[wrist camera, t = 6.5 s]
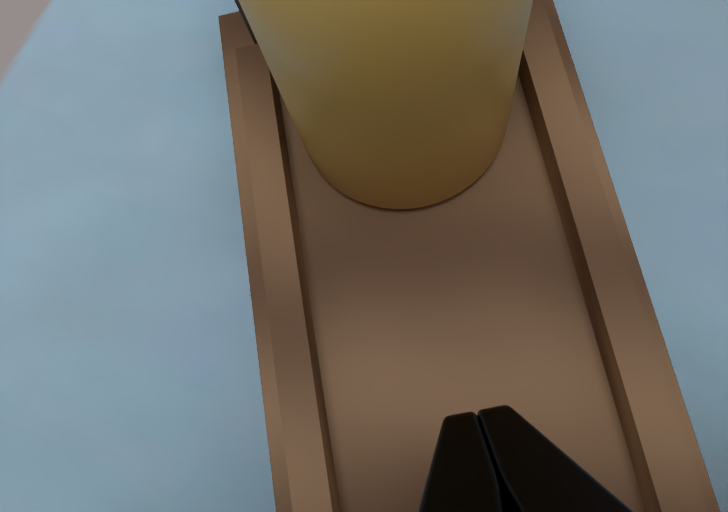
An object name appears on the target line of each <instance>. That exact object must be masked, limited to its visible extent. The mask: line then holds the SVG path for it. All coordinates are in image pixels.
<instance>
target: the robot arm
mask: <svg viewBox="0 0 728 512" xmlns="http://www.w3.org/2000/svg"><path fill="white" fill-rule="evenodd" d="M418 512H633V511H632V510H631V509H630V508H629V507H627V506H626V505H625V504H624V503H623V502H622V501H620V500H619V499H618V498H617V497H616V496H615V495H613V494H612V493H611V492H610V491H609V490H608V489H606V488H605V487H604V486H603V485H602V484H601V483H599V482H598V481H597V480H596V479H595V478H594V477H592V476H591V475H590V474H589V473H588V472H586V471H585V470H584V469H583V468H582V467H581V466H579V465H578V464H577V463H576V462H575V461H574V460H572V459H571V458H570V457H569V456H568V455H567V454H565V453H564V452H563V451H562V450H561V449H560V448H558V447H557V446H556V445H555V444H554V443H553V442H551V441H550V440H549V439H548V438H547V437H546V436H544V435H543V434H542V433H541V432H540V431H538V430H537V429H536V428H535V427H534V426H533V425H531V424H530V423H529V422H528V421H527V420H526V419H524V418H523V417H522V416H521V415H520V414H519V413H517V412H516V411H515V410H514V409H513V408H512V407H510V406H508V405H500V406H495V407H490V408H485V409H481V410H479V411H478V413H477V415H476V414H475V413H474V412H472V411H469V412H464V413H459V414H454V415H449V416H446V417H445V418H444V420H443V422H442V425H441V429H440V433H439V436H438V440H437V444H436V447H435V451H434V455H433V458H432V462H431V466H430V469H429V473H428V477H427V480H426V484H425V488H424V491H423V495H422V499H421V502H420V506H419V510H418Z"/></svg>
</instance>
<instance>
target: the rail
mask: <svg viewBox="0 0 728 512" xmlns="http://www.w3.org/2000/svg"><path fill="white" fill-rule="evenodd" d="M235 2H236V4H237V6H238V9H239V12H235V13H230V14H226V15H222V16H219V25H220V33H221V42H222V50H223V59H224V68H225V76H226V85H227V93H228V102H229V110H230V119H231V128H232V136H233V145H234V153H235V162H236V170H237V179H238V188H239V196H240V205H241V213H242V222H243V231H244V239H245V248H246V256H247V265H248V273H249V282H250V291H251V299H252V308H253V316H254V325H255V333H256V342H257V351H258V359H259V368H260V376H261V385H262V393H263V402H264V411H265V419H266V428H267V436H268V445H269V453H270V462H271V471H272V479H273V488H274V496H275V505H276V512H418V510H419V506H420V502H421V499H422V495H423V491H424V488H425V484H426V480H427V477H428V473H429V469H430V466H431V462H432V458H433V455H434V451H435V447H436V444H437V440H438V436H439V433H440V429H441V425H442V422H443V420H444V418H445V417H446V416H449V415H454V414H459V413H464V412H469V411H472V412H474V413H475V414H476V415H477V413H478V411H479V410H481V409H485V408H490V407H495V406H500V405H508V406H510V407H512V408H513V409H514V410H515V411H516V412H517V413H519V414H520V415H521V416H522V417H523V418H524V419H526V420H527V421H528V422H529V423H530V424H531V425H533V426H534V427H535V428H536V429H537V430H538V431H540V432H541V433H542V434H543V435H544V436H546V437H547V438H548V439H549V440H550V441H551V442H553V443H554V444H555V445H556V446H557V447H558V448H560V449H561V450H562V451H563V452H564V453H565V454H567V455H568V456H569V457H570V458H571V459H572V460H574V461H575V462H576V463H577V464H578V465H579V466H581V467H582V468H583V469H584V470H585V471H586V472H588V473H589V474H590V475H591V476H592V477H594V478H595V479H596V480H597V481H598V482H599V483H601V484H602V485H603V486H604V487H605V488H606V489H608V490H609V491H610V492H611V493H612V494H613V495H615V496H616V497H617V498H618V499H619V500H620V501H622V502H623V503H624V504H625V505H626V506H627V507H629V508H630V509H631V510H632V511H633V512H720V510H719V507H718V504H717V501H716V498H715V495H714V492H713V489H712V486H711V483H710V479H709V476H708V473H707V470H706V467H705V464H704V461H703V458H702V455H701V452H700V449H699V446H698V443H697V440H696V437H695V434H694V431H693V427H692V424H691V421H690V418H689V415H688V412H687V409H686V406H685V403H684V400H683V397H682V394H681V391H680V388H679V385H678V382H677V379H676V375H675V372H674V369H673V366H672V363H671V360H670V357H669V354H668V351H667V348H666V345H665V342H664V339H663V336H662V333H661V330H660V327H659V324H658V320H657V317H656V314H655V311H654V308H653V305H652V302H651V299H650V296H649V293H648V290H647V287H646V284H645V281H644V278H643V275H642V272H641V268H640V265H639V262H638V259H637V256H636V253H635V250H634V247H633V244H632V241H631V238H630V235H629V232H628V229H627V226H626V223H625V220H624V216H623V213H622V210H621V207H620V204H619V201H618V198H617V195H616V192H615V189H614V186H613V183H612V180H611V177H610V174H609V171H608V168H607V165H606V161H605V158H604V155H603V152H602V149H601V146H600V143H599V140H598V137H597V134H596V131H595V128H594V125H593V122H592V119H591V116H590V113H589V109H588V106H587V103H586V100H585V97H584V94H583V91H582V88H581V85H580V82H579V79H578V76H577V73H576V70H575V67H574V64H573V61H572V57H571V54H570V51H569V48H568V45H567V42H566V39H565V36H564V33H563V30H562V27H561V24H560V21H559V18H558V15H557V12H556V9H555V6H554V2H553V0H533V3H532V8H531V13H530V17H529V22H528V27H527V32H526V37H525V42H524V46H523V51H522V56H521V61H520V66H519V70H518V75H517V80H516V85H515V90H514V94H513V99H512V104H511V109H510V114H509V118H508V123H507V128H506V132H505V136H504V140H503V142H502V144H501V147H500V149H499V152H498V153H497V155H496V157H495V158H494V160H493V162H492V163H491V164H490V166H489V167H488V168H487V169H486V171H485V172H484V173H483V174H482V175H481V176H480V177H479V178H478V179H477V180H476V181H475V182H474V183H473V184H471V185H470V186H468V187H467V188H466V189H464V190H463V191H461V192H460V193H458V194H456V195H454V196H452V197H451V198H448V199H446V200H444V201H441V202H439V203H436V204H432V205H428V206H425V207H419V208H412V209H388V208H380V207H375V206H371V205H367V204H364V203H362V202H359V201H356V200H354V199H352V198H350V197H348V196H346V195H344V194H343V193H341V192H340V191H338V190H337V189H336V188H334V187H333V186H332V185H331V184H330V183H328V182H327V181H326V180H325V179H324V178H323V177H322V175H321V174H320V173H319V172H318V170H317V169H316V168H315V166H314V164H313V163H312V161H311V159H310V157H309V155H308V153H307V151H306V149H305V146H304V144H303V142H302V140H301V138H300V135H299V133H298V131H297V129H296V127H295V124H294V122H293V120H292V118H291V116H290V113H289V111H288V109H287V107H286V104H285V102H284V100H283V98H282V96H281V93H280V91H279V89H278V87H277V85H276V82H275V80H274V78H273V76H272V73H271V71H270V69H269V67H268V65H267V62H266V60H265V58H264V56H263V54H262V51H261V49H260V47H259V45H258V43H257V40H256V38H255V36H254V34H253V31H252V29H251V27H250V25H249V23H248V20H247V18H246V16H245V14H244V12H243V9H242V7H241V5H240V3H239V0H235Z"/></svg>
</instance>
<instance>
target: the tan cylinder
mask: <svg viewBox="0 0 728 512" xmlns="http://www.w3.org/2000/svg"><path fill="white" fill-rule="evenodd" d="M239 3H240V5H241V7H242V9H243V12H244V14H245V16H246V18H247V20H248V23H249V25H250V27H251V29H252V31H253V34H254V36H255V38H256V40H257V43H258V45H259V47H260V49H261V51H262V54H263V56H264V58H265V60H266V62H267V65H268V67H269V69H270V71H271V73H272V76H273V78H274V80H275V82H276V85H277V87H278V89H279V91H280V93H281V96H282V98H283V100H284V102H285V104H286V107H287V109H288V111H289V113H290V116H291V118H292V120H293V122H294V124H295V127H296V129H297V131H298V133H299V135H300V138H301V140H302V142H303V144H304V146H305V149H306V151H307V153H308V155H309V157H310V159H311V161H312V163H313V164H314V166H315V168H316V169H317V170H318V172H319V173H320V174H321V175H322V177H323V178H324V179H325V180H326V181H327V182H328V183H330V184H331V185H332V186H333V187H334V188H336V189H337V190H338V191H340V192H341V193H343V194H344V195H346V196H348V197H350V198H352V199H354V200H356V201H359V202H362V203H364V204H367V205H371V206H375V207H380V208H388V209H412V208H419V207H425V206H428V205H432V204H436V203H439V202H441V201H444V200H446V199H448V198H451V197H452V196H454V195H456V194H458V193H460V192H461V191H463V190H464V189H466V188H467V187H468V186H470V185H471V184H473V183H474V182H475V181H476V180H477V179H478V178H479V177H480V176H481V175H482V174H483V173H484V172H485V171H486V169H487V168H488V167H489V166H490V164H491V163H492V162H493V160H494V158H495V157H496V155H497V153H498V152H499V149H500V147H501V144H502V142H503V140H504V136H505V132H506V128H507V123H508V118H509V114H510V109H511V104H512V99H513V94H514V90H515V85H516V80H517V75H518V70H519V66H520V61H521V56H522V51H523V46H524V42H525V37H526V32H527V27H528V22H529V17H530V13H531V8H532V3H533V0H239Z"/></svg>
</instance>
